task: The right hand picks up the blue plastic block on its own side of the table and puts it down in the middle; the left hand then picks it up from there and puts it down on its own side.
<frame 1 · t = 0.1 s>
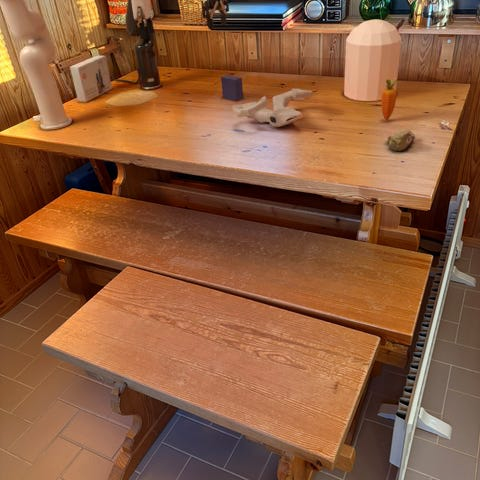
left hand: (147, 35, 171), 31 cm above the table, tool pointing down, fingers open, 9 cm apart
right hand: (217, 26, 186), 29 cm above the table, tool pointing down, fingers open, 8 cm apart
white branched piece: (279, 124, 171), on the table
block: (233, 98, 202), on the table
carrot: (386, 121, 166), on the table
container: (369, 93, 192), on the table
skincare box: (96, 95, 222), on the table
rock: (401, 146, 148), on the table
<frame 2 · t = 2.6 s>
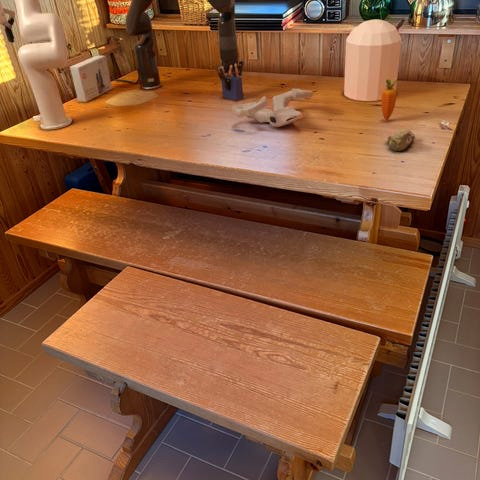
right hand: (232, 88, 199), 4 cm above the table, tool pointing down, fingers closed on block, 4 cm apart
block: (233, 98, 202), on the table, touching right hand
everything else where it was.
when the right hand's fingers open (5 cm above the table, at t = 9.2 s): block stays where it is, on the table.
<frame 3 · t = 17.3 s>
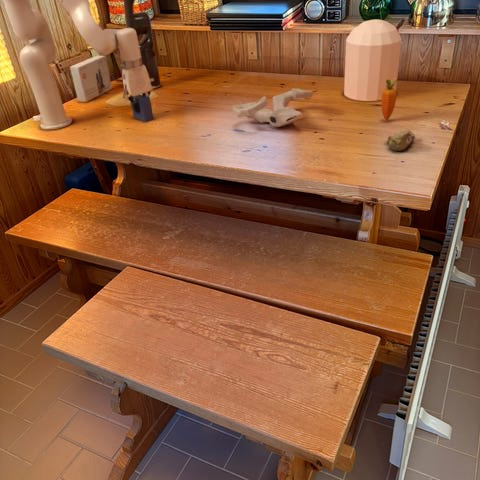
left hand: (142, 109, 188), 4 cm above the table, tool pointing down, fingers closed on block, 4 cm apart
block: (143, 118, 190), on the table, touching left hand
everything else where it was.
when the left hand's fingers open (4 cm above the table, at t = 21.8 s): block stays where it is, on the table.
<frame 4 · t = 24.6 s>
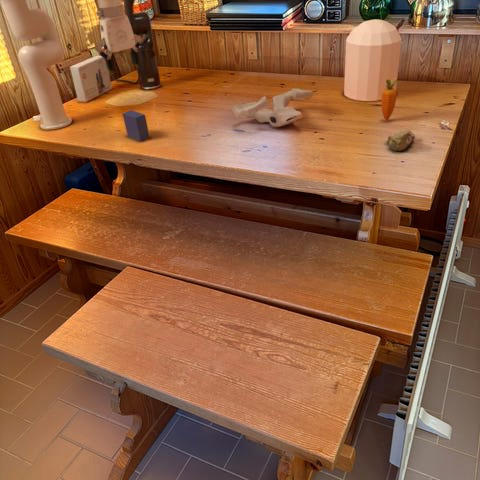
left hand: (123, 67, 158), 25 cm above the table, tool pointing down, fingers open, 9 cm apart
block: (138, 137, 173), on the table
everything else where it was.
at the end: block inside the target area (0.3 cm from its centre), on the table; block tilted 0°; the two hands never held the block at the same time; the left hand is holding nothing; the right hand is holding nothing; block at rest at the end (0.0 cm/s) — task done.
